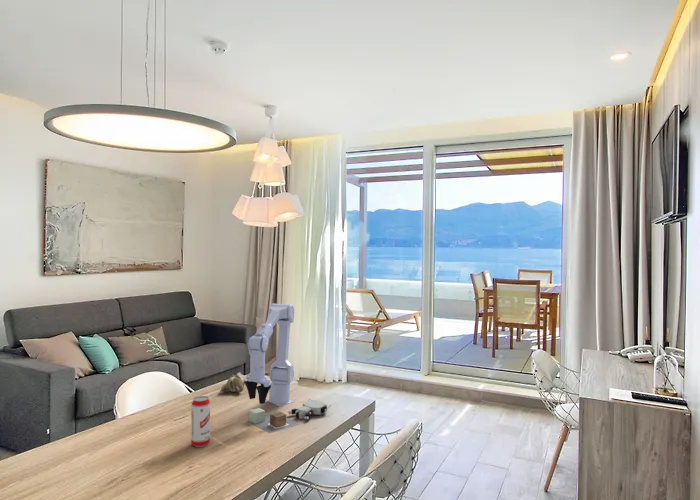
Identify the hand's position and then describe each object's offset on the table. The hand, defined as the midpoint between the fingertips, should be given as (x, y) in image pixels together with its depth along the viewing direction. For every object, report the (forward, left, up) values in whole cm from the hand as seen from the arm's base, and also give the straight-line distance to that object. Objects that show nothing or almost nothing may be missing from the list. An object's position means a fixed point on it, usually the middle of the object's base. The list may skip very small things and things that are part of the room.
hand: (257, 400), depth 185 cm
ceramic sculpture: (-42, +13, -9) cm, 45 cm away
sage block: (0, 0, -8) cm, 8 cm away
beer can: (+6, -26, -8) cm, 28 cm away
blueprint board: (+5, +4, -8) cm, 10 cm away
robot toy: (+8, +20, -9) cm, 23 cm away
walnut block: (+9, +4, -8) cm, 13 cm away
